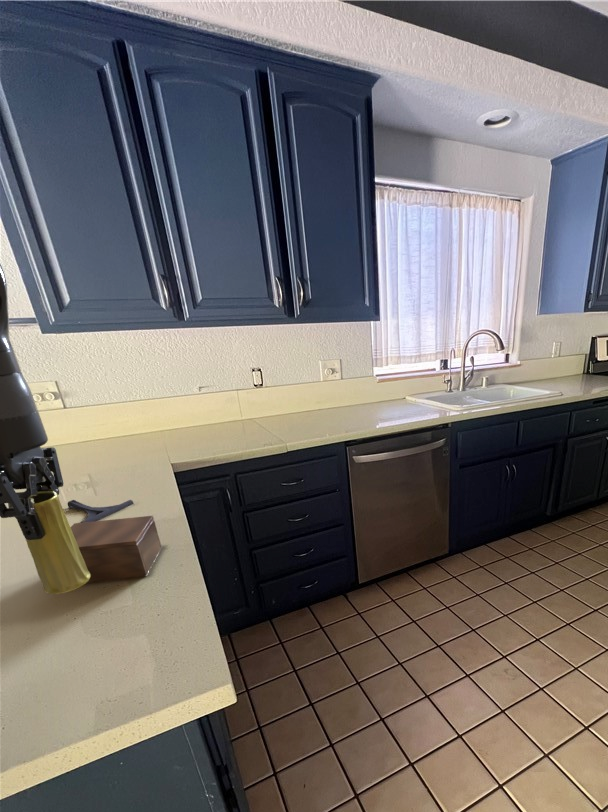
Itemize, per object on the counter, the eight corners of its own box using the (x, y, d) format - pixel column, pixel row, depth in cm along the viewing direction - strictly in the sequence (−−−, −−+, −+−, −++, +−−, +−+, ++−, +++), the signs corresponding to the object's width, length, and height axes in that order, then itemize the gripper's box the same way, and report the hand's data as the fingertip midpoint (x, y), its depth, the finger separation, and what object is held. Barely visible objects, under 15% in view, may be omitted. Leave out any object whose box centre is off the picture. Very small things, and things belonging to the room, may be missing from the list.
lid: (48, 554, 79) (46, 550, 79) (75, 526, 90) (74, 523, 89) (137, 544, 82) (135, 541, 82) (153, 518, 92) (152, 515, 92)
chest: (66, 588, 83) (52, 553, 80) (91, 557, 93) (79, 526, 90) (147, 578, 85) (137, 544, 82) (162, 550, 96) (153, 519, 92)
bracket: (95, 499, 123) (92, 490, 122) (134, 505, 118) (131, 496, 117) (45, 520, 111) (41, 510, 110) (86, 528, 106) (82, 518, 105)
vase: (76, 568, 69) (45, 487, 63) (99, 577, 67) (70, 493, 61) (34, 588, 65) (-3, 502, 58) (58, 598, 62) (22, 510, 56)
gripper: (0, 402, 60) (43, 510, 67) (-77, 426, 47) (-14, 557, 55) (59, 399, 61) (95, 506, 69) (0, 423, 49) (51, 550, 56)
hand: (46, 528), depth 62 cm, fingers closed on vase, 5 cm apart
